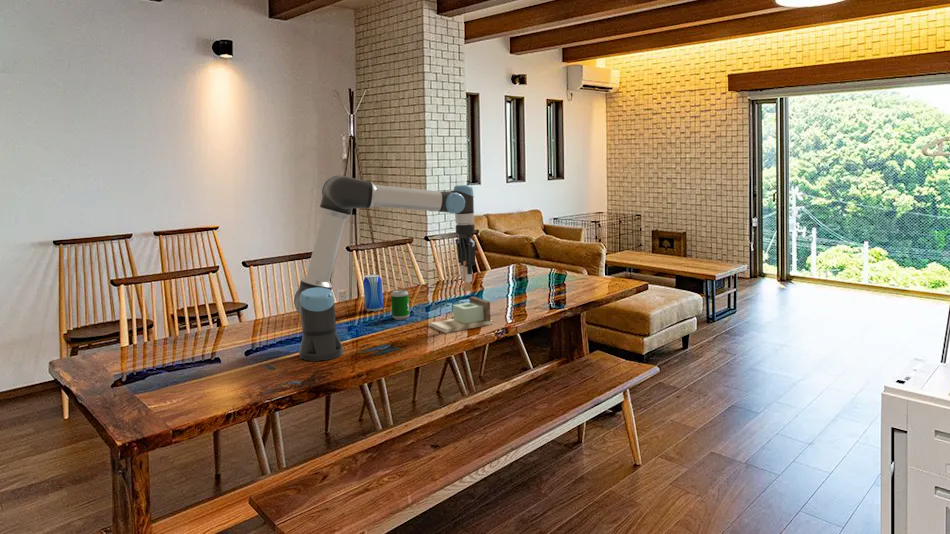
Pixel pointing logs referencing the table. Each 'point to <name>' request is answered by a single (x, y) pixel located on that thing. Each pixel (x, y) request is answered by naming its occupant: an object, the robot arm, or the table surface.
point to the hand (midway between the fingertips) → (467, 281)
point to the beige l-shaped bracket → (455, 325)
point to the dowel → (466, 284)
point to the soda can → (400, 304)
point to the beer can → (373, 293)
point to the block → (468, 312)
